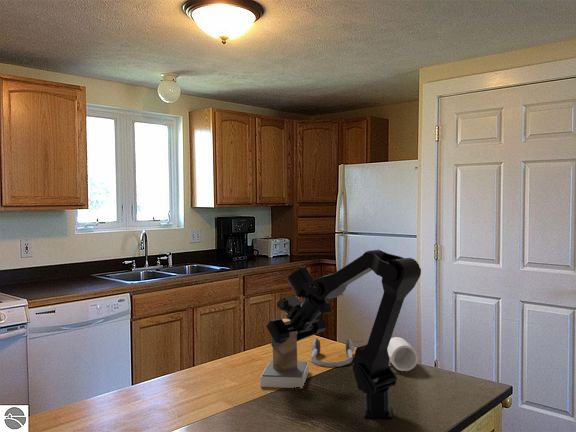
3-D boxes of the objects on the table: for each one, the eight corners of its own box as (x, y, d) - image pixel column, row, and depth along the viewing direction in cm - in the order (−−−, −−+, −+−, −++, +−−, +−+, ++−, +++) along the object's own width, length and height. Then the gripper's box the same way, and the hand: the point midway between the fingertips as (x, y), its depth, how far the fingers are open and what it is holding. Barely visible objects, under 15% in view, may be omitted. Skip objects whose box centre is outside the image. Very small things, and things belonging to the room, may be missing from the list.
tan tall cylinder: (297, 368, 147) (296, 325, 147) (284, 372, 144) (283, 328, 143) (286, 364, 151) (285, 322, 150) (273, 368, 147) (272, 325, 147)
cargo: (292, 325, 147) (292, 320, 147) (283, 327, 145) (283, 322, 145) (284, 323, 149) (284, 318, 149) (275, 325, 147) (275, 320, 147)
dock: (302, 388, 139) (302, 376, 139) (260, 386, 141) (260, 375, 141) (308, 371, 153) (308, 361, 153) (269, 370, 155) (269, 360, 155)
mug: (409, 361, 161) (408, 336, 161) (418, 371, 151) (417, 345, 151) (372, 362, 161) (371, 337, 161) (378, 372, 151) (378, 346, 151)
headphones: (313, 345, 178) (307, 373, 159) (312, 330, 177) (306, 356, 158) (363, 346, 176) (363, 374, 156) (362, 331, 175) (362, 357, 155)
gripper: (318, 283, 149) (294, 315, 157) (269, 291, 137) (246, 325, 145) (338, 313, 143) (312, 345, 152) (289, 325, 131) (264, 358, 139)
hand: (284, 342), depth 147 cm, fingers open, 9 cm apart
